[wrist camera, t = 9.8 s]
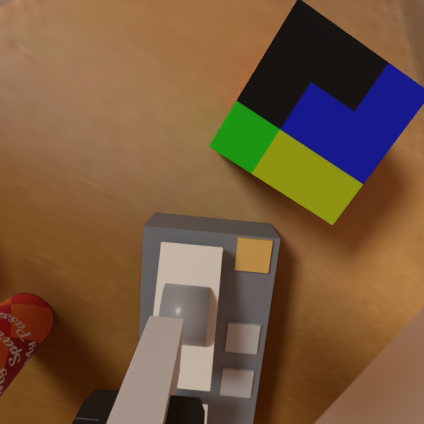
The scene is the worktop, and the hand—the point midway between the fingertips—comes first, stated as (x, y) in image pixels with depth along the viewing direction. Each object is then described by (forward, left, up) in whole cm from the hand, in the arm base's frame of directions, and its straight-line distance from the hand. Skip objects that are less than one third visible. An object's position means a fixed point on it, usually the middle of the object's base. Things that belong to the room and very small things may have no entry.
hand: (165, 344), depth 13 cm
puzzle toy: (+8, +11, -19) cm, 23 cm away
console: (+2, -11, -18) cm, 21 cm away
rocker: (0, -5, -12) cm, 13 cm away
